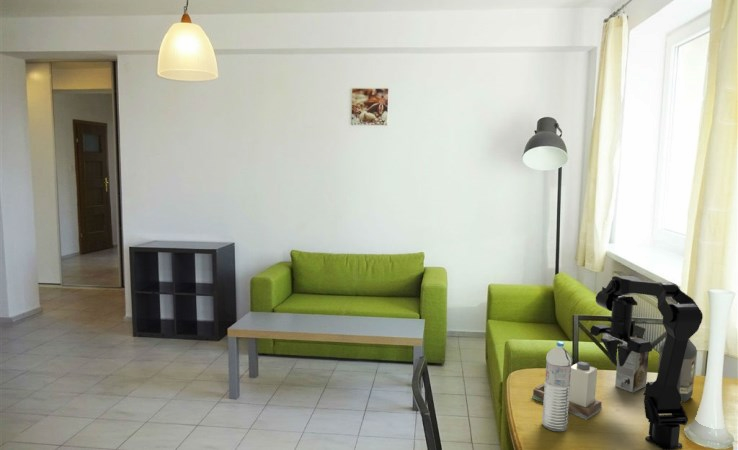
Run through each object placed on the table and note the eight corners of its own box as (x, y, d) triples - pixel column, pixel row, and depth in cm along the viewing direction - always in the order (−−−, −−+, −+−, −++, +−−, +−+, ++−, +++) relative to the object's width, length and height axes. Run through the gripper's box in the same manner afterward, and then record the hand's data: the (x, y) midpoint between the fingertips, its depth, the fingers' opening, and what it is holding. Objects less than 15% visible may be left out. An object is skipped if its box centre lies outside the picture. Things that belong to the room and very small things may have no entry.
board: (601, 409, 158) (602, 400, 157) (586, 419, 151) (587, 410, 151) (547, 389, 171) (548, 380, 171) (532, 398, 164) (532, 389, 164)
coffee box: (628, 379, 180) (631, 335, 178) (646, 386, 175) (650, 341, 173) (614, 386, 175) (617, 340, 173) (632, 393, 170) (637, 346, 168)
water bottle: (547, 418, 152) (552, 336, 149) (570, 426, 147) (576, 342, 144) (538, 427, 146) (543, 342, 143) (562, 435, 142) (568, 348, 139)
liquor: (653, 394, 169) (662, 306, 165) (663, 386, 175) (671, 301, 172) (684, 404, 162) (694, 312, 159) (693, 396, 169) (703, 307, 165)
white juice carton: (594, 405, 157) (597, 364, 156) (585, 411, 153) (588, 369, 152) (575, 398, 162) (578, 358, 160) (566, 404, 158) (569, 363, 156)
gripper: (667, 322, 153) (662, 372, 155) (616, 305, 170) (612, 350, 172) (640, 326, 149) (635, 377, 150) (590, 308, 166) (587, 354, 168)
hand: (617, 364), depth 160 cm, fingers open, 3 cm apart
